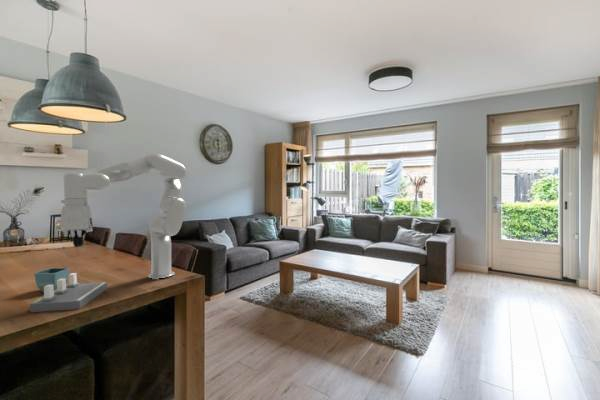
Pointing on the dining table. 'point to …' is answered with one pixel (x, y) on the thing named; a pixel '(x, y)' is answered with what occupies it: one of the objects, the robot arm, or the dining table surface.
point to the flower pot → (50, 277)
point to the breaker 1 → (48, 293)
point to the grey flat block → (70, 298)
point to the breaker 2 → (72, 280)
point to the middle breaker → (61, 286)
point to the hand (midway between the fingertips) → (78, 245)
